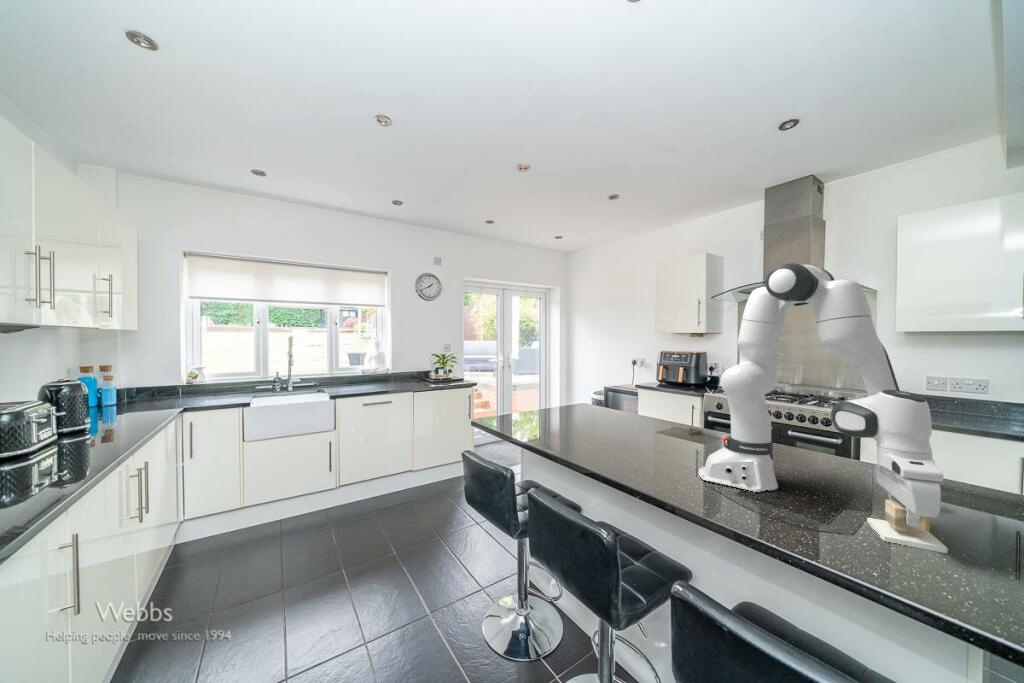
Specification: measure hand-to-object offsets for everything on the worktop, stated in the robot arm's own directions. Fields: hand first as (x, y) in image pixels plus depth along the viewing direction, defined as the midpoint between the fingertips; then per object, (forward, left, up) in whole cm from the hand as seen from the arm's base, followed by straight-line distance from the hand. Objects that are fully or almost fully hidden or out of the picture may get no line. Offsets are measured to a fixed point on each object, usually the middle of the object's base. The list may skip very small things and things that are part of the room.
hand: (904, 519), depth 85 cm
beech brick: (0, 0, -2) cm, 2 cm away
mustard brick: (+4, +8, -4) cm, 10 cm away
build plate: (0, 0, -4) cm, 4 cm away
